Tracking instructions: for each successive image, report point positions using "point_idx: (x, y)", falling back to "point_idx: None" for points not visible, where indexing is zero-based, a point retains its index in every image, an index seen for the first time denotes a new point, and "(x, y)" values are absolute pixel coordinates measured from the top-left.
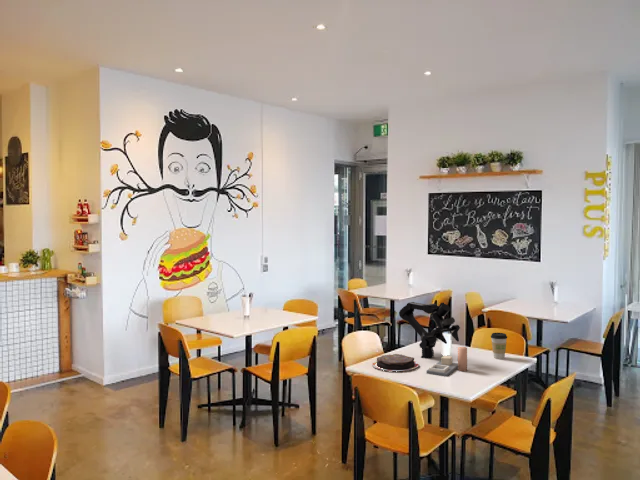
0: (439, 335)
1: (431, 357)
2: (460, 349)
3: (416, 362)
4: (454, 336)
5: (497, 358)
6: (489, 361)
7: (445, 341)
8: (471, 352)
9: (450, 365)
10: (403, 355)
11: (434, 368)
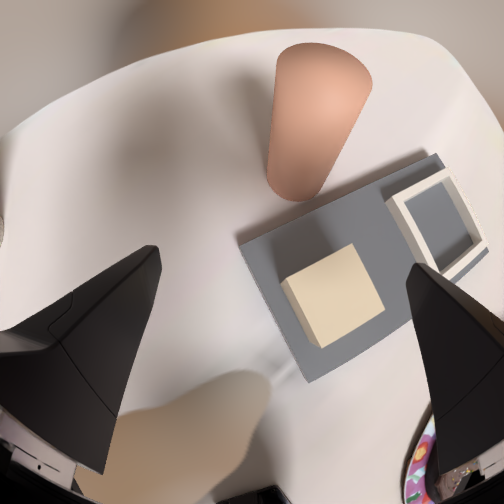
0: (496, 419)
1: (260, 491)
2: (363, 70)
3: (426, 433)
4: (114, 369)
5: (2, 226)
6: (44, 219)
7: (440, 276)
8: None
9: (333, 248)
10: (451, 492)
11: (474, 218)
